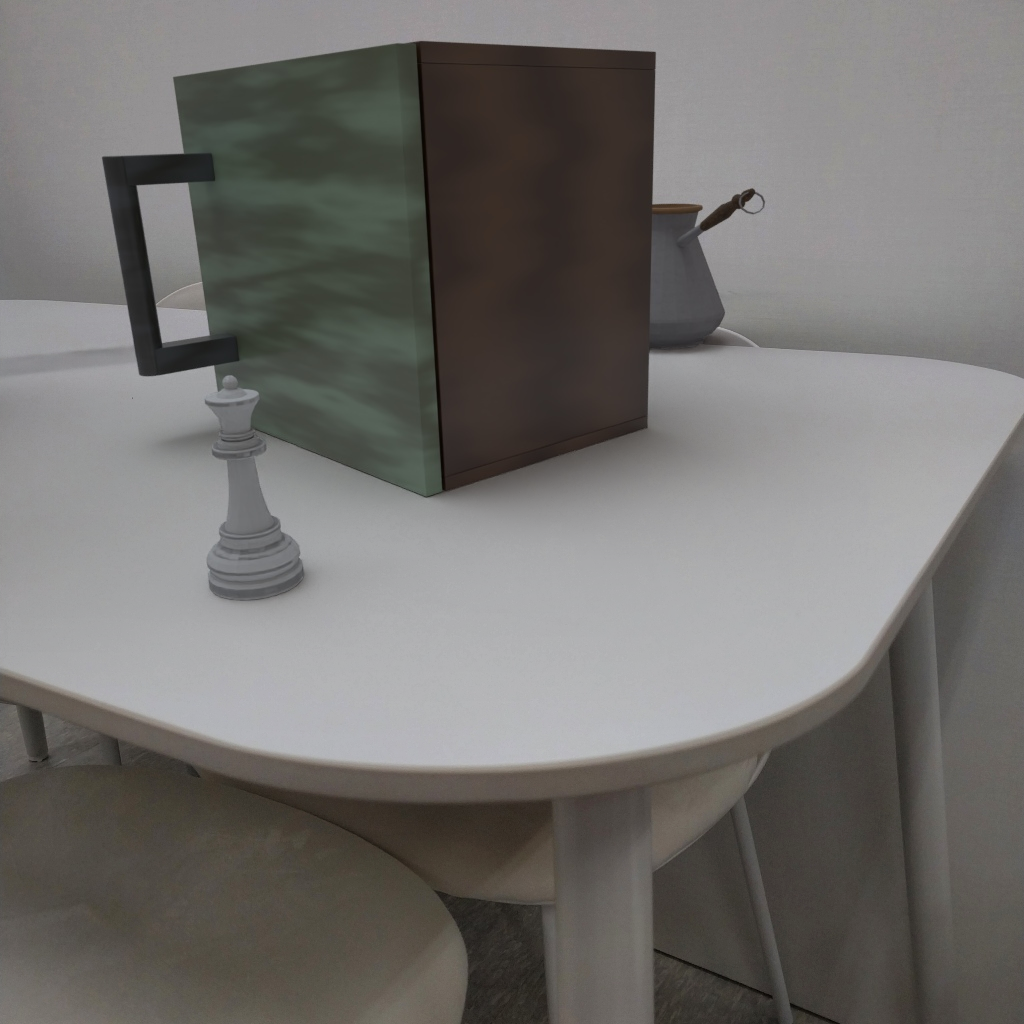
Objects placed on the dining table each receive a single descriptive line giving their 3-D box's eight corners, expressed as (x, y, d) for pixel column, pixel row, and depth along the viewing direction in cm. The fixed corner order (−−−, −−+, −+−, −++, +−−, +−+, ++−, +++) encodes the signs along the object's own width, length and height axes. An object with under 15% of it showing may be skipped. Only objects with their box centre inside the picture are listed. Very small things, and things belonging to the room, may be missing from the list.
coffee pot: (589, 335, 100) (589, 182, 94) (690, 326, 103) (695, 177, 97) (683, 381, 81) (690, 191, 75) (803, 368, 84) (818, 185, 78)
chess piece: (306, 559, 48) (283, 361, 45) (302, 597, 44) (276, 383, 41) (216, 567, 48) (185, 367, 44) (203, 606, 44) (168, 390, 40)
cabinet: (446, 493, 57) (420, 40, 48) (238, 413, 75) (192, 74, 66) (647, 429, 68) (656, 51, 59) (424, 373, 86) (405, 78, 77)
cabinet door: (322, 529, 52) (269, 37, 43) (132, 434, 70) (68, 75, 61) (442, 492, 57) (416, 43, 48) (235, 412, 75) (189, 77, 66)
